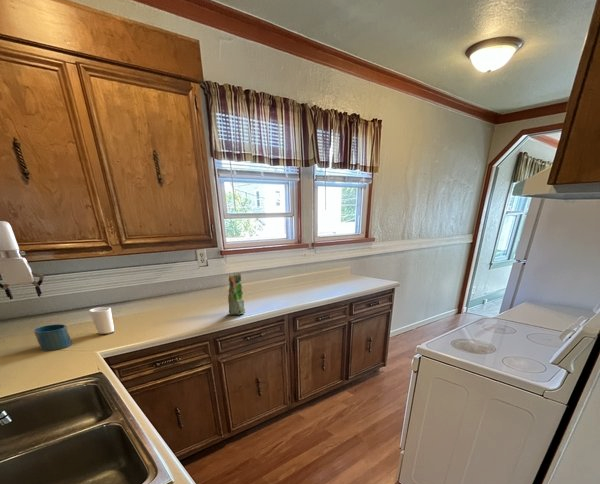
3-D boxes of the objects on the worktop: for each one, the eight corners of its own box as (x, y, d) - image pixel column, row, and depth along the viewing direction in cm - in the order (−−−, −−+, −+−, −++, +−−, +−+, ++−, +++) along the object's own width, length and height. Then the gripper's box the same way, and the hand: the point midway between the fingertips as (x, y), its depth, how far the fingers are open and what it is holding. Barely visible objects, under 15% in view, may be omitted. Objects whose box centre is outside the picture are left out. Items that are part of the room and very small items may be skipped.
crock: (40, 352, 148) (32, 333, 144) (41, 344, 157) (34, 326, 153) (72, 347, 154) (65, 329, 150) (71, 340, 163) (66, 322, 159)
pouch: (243, 310, 214) (239, 271, 203) (248, 315, 205) (245, 273, 193) (226, 312, 210) (222, 272, 199) (231, 317, 200) (227, 275, 189)
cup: (91, 334, 171) (84, 310, 165) (107, 329, 179) (100, 306, 174) (105, 336, 168) (98, 312, 162) (121, 331, 176) (115, 307, 170)
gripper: (36, 253, 139) (50, 293, 147) (-17, 255, 131) (1, 298, 138) (35, 254, 133) (49, 296, 141) (-21, 257, 125) (-2, 301, 133)
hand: (25, 297), depth 140 cm, fingers open, 9 cm apart
